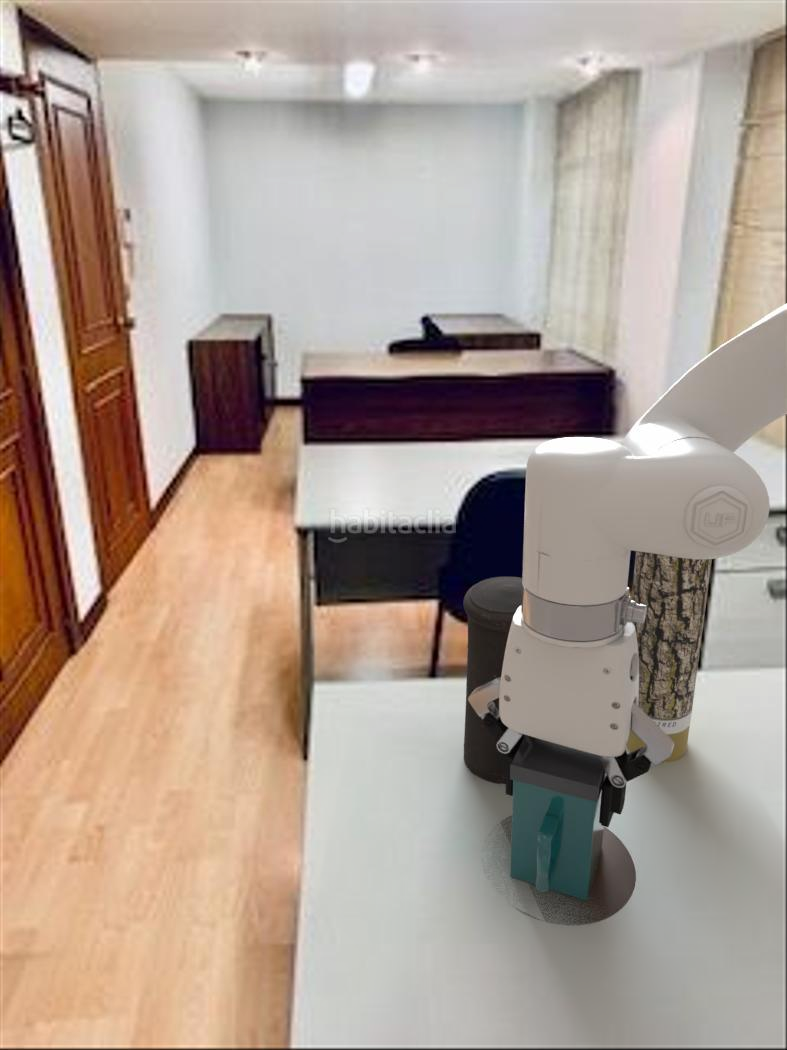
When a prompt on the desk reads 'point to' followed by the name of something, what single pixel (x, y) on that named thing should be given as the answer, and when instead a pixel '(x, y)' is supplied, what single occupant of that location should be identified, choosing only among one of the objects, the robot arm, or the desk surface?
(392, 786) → the desk surface
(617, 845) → the turntable
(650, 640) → the paper tube
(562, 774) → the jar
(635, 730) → the robot arm
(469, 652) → the container
